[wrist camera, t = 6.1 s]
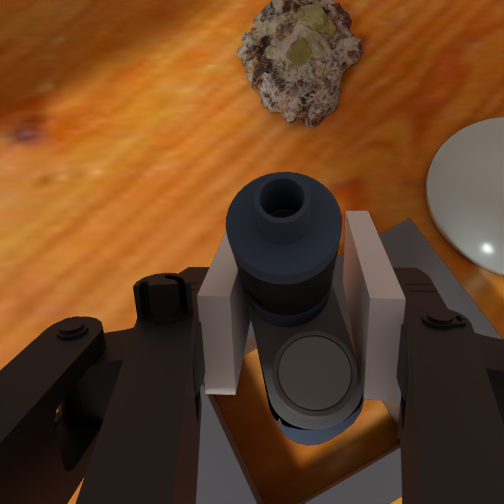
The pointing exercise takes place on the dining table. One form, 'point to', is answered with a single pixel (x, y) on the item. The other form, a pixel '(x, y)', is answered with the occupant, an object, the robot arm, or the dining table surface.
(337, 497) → the block
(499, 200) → the coaster
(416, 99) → the dining table surface
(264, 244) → the vaping device
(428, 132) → the dining table surface
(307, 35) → the mineral rock
